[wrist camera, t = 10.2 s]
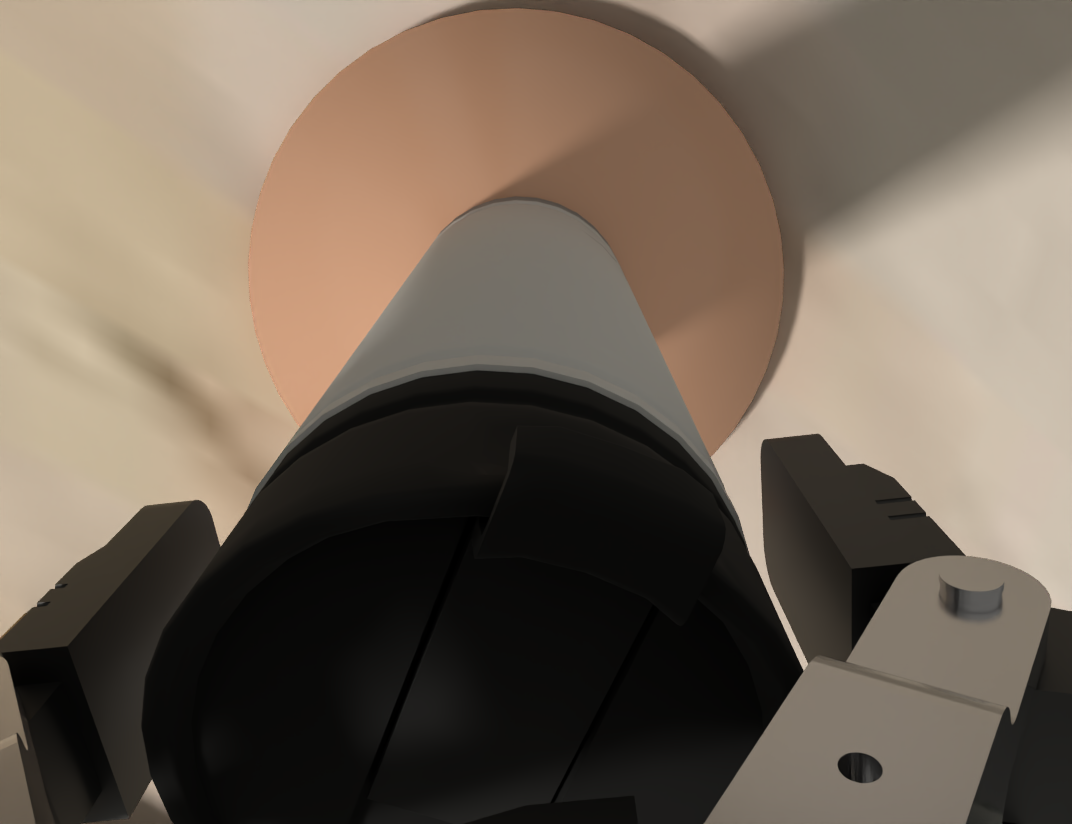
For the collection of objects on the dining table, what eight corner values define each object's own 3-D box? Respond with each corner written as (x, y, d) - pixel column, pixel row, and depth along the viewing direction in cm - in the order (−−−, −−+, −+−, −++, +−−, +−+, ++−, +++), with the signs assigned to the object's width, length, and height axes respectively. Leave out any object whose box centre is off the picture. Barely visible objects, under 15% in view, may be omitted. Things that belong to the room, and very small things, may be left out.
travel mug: (662, 229, 25) (1015, 616, 7) (579, 427, 27) (666, 1147, 9) (459, 151, 25) (202, 333, 6) (390, 360, 27) (37, 988, 8)
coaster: (199, 50, 25) (188, 49, 24) (769, -26, 24) (776, -30, 23) (315, 549, 30) (310, 561, 29) (783, 500, 29) (789, 511, 28)
